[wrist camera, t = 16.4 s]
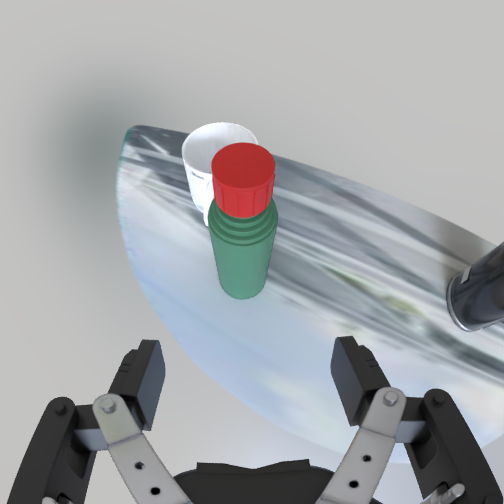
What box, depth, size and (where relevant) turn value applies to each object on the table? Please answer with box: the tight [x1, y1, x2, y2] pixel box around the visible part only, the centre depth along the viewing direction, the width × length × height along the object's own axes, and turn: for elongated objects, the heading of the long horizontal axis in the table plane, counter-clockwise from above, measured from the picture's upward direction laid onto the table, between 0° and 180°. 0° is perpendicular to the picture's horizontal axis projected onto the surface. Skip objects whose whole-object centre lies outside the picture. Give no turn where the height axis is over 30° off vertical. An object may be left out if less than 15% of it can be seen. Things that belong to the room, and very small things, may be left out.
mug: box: [182, 122, 258, 226], centre depth 36 cm, size 12×9×9 cm
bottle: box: [207, 198, 278, 299], centre depth 27 cm, size 6×6×20 cm
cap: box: [211, 142, 275, 218], centre depth 19 cm, size 4×4×3 cm
